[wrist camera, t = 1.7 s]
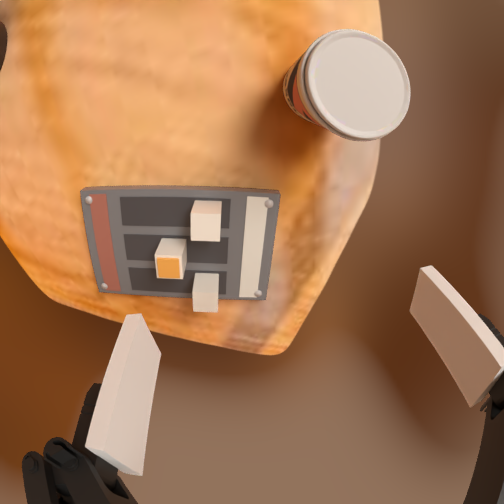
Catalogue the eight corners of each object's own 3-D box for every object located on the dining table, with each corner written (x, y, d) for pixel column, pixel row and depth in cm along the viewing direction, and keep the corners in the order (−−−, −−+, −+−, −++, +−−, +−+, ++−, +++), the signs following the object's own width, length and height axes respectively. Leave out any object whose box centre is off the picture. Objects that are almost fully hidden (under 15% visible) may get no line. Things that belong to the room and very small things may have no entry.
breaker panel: (102, 285, 37) (89, 310, 32) (85, 187, 29) (64, 202, 24) (264, 293, 39) (269, 320, 34) (278, 190, 32) (287, 206, 27)
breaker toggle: (163, 259, 33) (156, 279, 30) (161, 238, 32) (153, 256, 28) (186, 260, 34) (182, 280, 30) (186, 238, 32) (181, 257, 29)
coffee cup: (261, 65, 25) (282, 40, 14) (336, 45, 24) (390, 21, 13) (293, 139, 29) (329, 158, 19) (363, 116, 28) (425, 127, 18)
